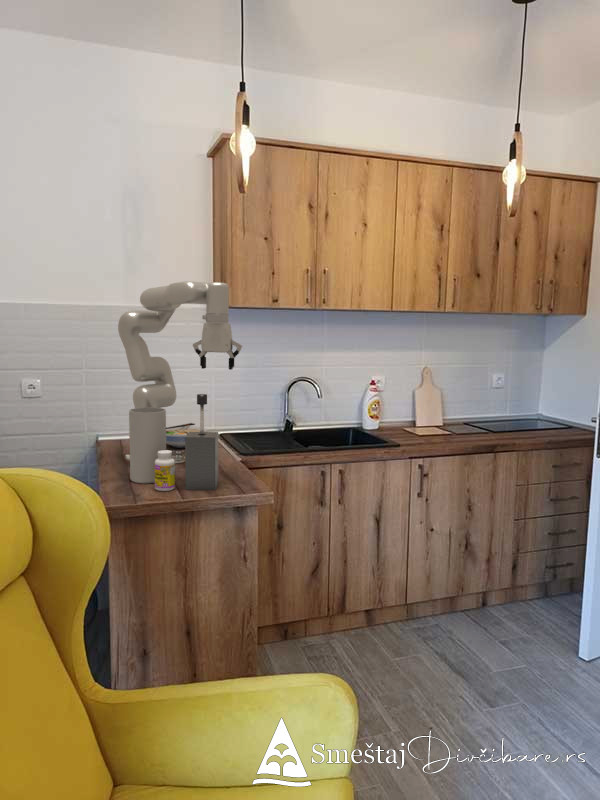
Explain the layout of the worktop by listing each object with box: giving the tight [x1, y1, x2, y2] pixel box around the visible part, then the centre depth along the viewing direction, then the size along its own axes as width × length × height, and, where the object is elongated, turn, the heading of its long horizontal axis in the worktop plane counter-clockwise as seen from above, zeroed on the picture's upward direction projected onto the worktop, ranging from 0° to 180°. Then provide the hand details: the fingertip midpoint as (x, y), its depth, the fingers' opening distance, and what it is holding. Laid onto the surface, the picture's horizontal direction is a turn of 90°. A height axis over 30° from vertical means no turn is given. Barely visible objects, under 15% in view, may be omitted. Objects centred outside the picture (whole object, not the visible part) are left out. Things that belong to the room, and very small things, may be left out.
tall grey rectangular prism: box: [184, 431, 219, 491], centre depth 207 cm, size 10×13×18 cm
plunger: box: [196, 393, 208, 435], centre depth 204 cm, size 7×7×21 cm
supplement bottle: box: [154, 449, 176, 492], centre depth 201 cm, size 7×7×13 cm
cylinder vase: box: [128, 407, 167, 484], centre depth 212 cm, size 12×12×25 cm
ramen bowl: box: [166, 422, 208, 449], centre depth 270 cm, size 25×23×8 cm
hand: (217, 368), depth 208 cm, fingers open, 9 cm apart
